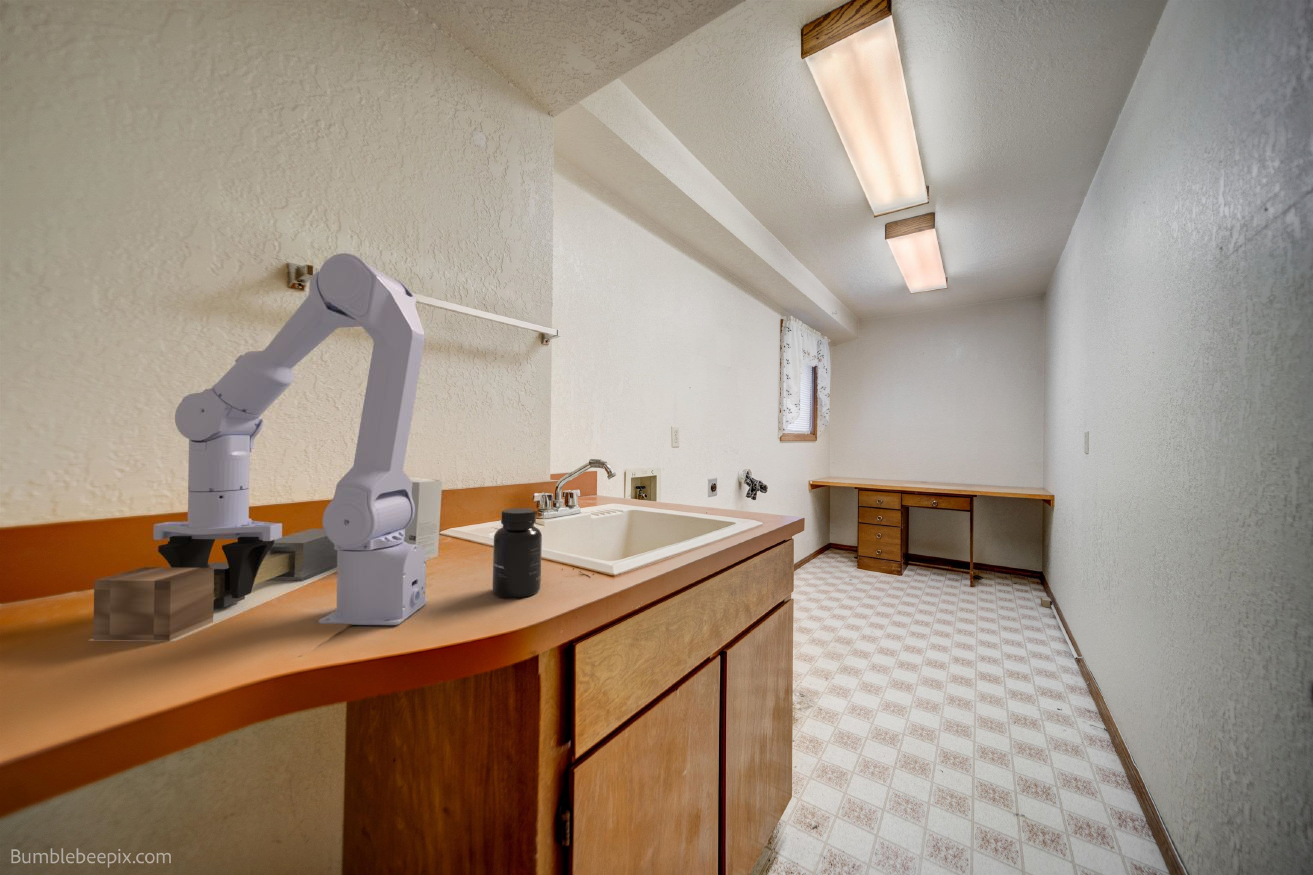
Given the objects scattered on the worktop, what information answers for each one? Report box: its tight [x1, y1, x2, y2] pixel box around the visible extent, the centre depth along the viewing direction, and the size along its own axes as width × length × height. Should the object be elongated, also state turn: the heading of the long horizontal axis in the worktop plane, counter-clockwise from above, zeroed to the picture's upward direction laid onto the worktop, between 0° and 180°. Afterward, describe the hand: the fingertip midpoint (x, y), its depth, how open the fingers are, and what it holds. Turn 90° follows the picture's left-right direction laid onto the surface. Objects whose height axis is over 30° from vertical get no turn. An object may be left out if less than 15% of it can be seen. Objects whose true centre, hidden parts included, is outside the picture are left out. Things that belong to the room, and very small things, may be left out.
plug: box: [197, 551, 295, 607], centre depth 62 cm, size 4×19×5 cm, turn 1°
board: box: [88, 567, 337, 642], centre depth 65 cm, size 9×31×1 cm, turn 1°
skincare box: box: [404, 476, 443, 561], centre depth 85 cm, size 8×6×15 cm
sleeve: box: [265, 528, 337, 581], centre depth 76 cm, size 6×10×6 cm, turn 1°
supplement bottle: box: [492, 507, 543, 599], centre depth 69 cm, size 7×7×12 cm
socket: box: [92, 566, 214, 642], centre depth 52 cm, size 8×5×6 cm, turn 91°
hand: (217, 595), depth 60 cm, fingers open, 5 cm apart
